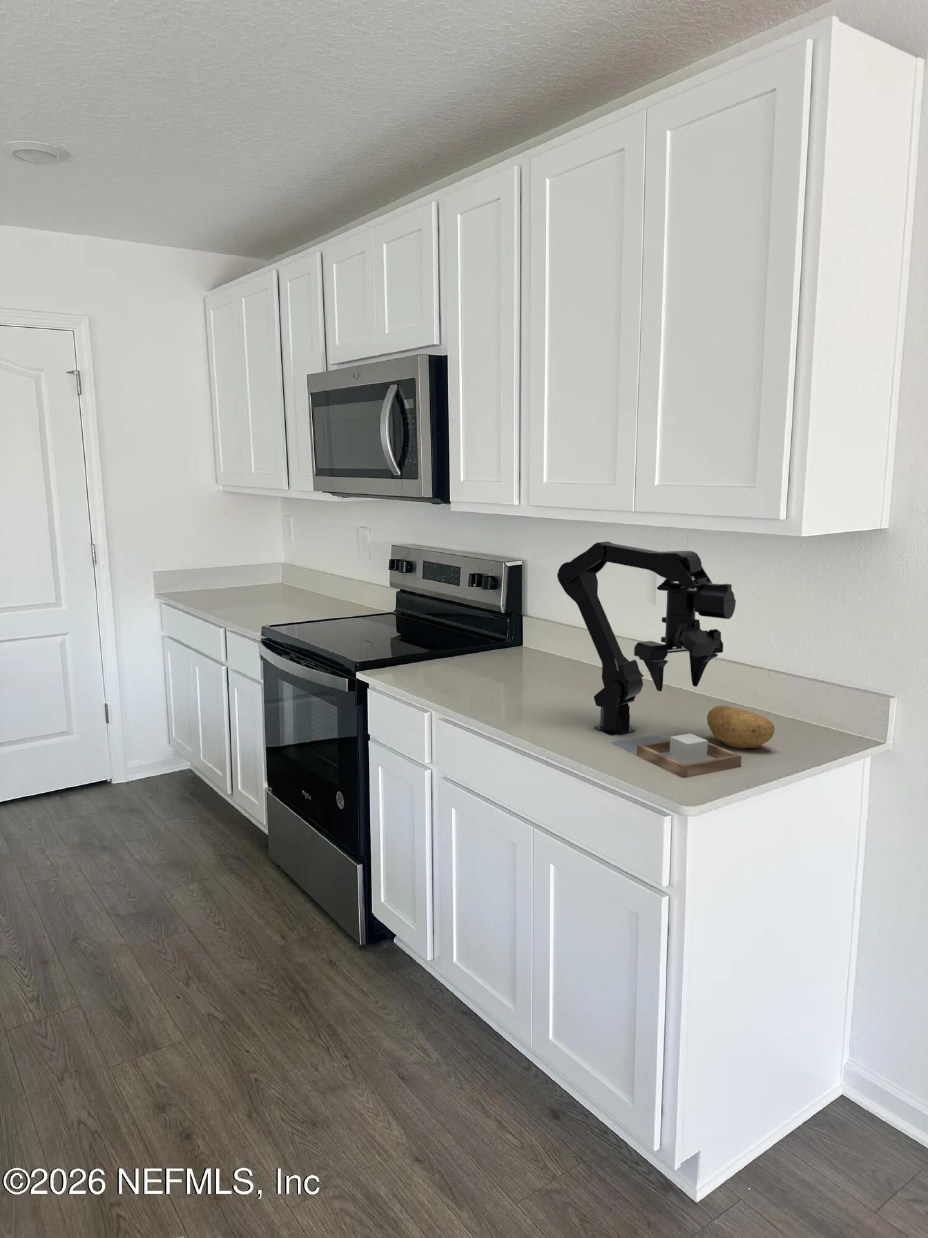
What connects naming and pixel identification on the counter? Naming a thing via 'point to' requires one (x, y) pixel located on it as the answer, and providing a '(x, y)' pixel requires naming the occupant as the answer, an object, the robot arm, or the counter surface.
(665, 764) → the bin
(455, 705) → the counter surface
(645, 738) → the mat
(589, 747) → the counter surface
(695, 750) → the white cube
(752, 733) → the potato
